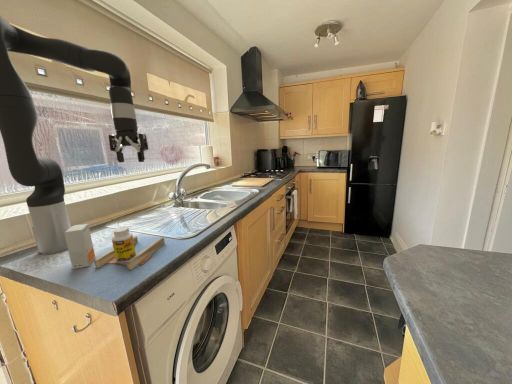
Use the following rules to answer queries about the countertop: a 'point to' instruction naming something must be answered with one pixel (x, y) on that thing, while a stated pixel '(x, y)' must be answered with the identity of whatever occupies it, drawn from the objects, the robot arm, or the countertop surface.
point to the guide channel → (134, 261)
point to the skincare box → (80, 246)
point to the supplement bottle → (123, 245)
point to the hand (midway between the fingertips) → (131, 162)
